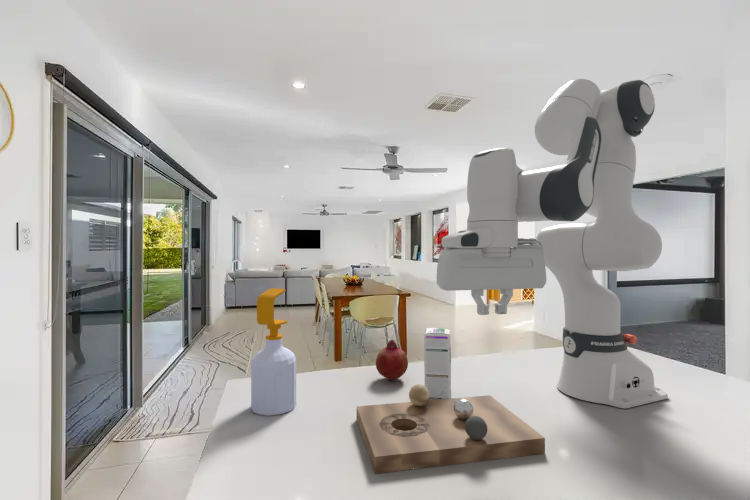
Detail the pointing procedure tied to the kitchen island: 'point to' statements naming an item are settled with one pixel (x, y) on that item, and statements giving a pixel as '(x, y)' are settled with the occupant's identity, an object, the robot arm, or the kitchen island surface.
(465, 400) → the steel ball
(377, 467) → the board
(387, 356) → the fruit
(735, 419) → the kitchen island surface
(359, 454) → the kitchen island surface
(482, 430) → the black rubber ball
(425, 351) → the syrup box
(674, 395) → the kitchen island surface
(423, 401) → the beech ball
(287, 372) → the soap bottle
